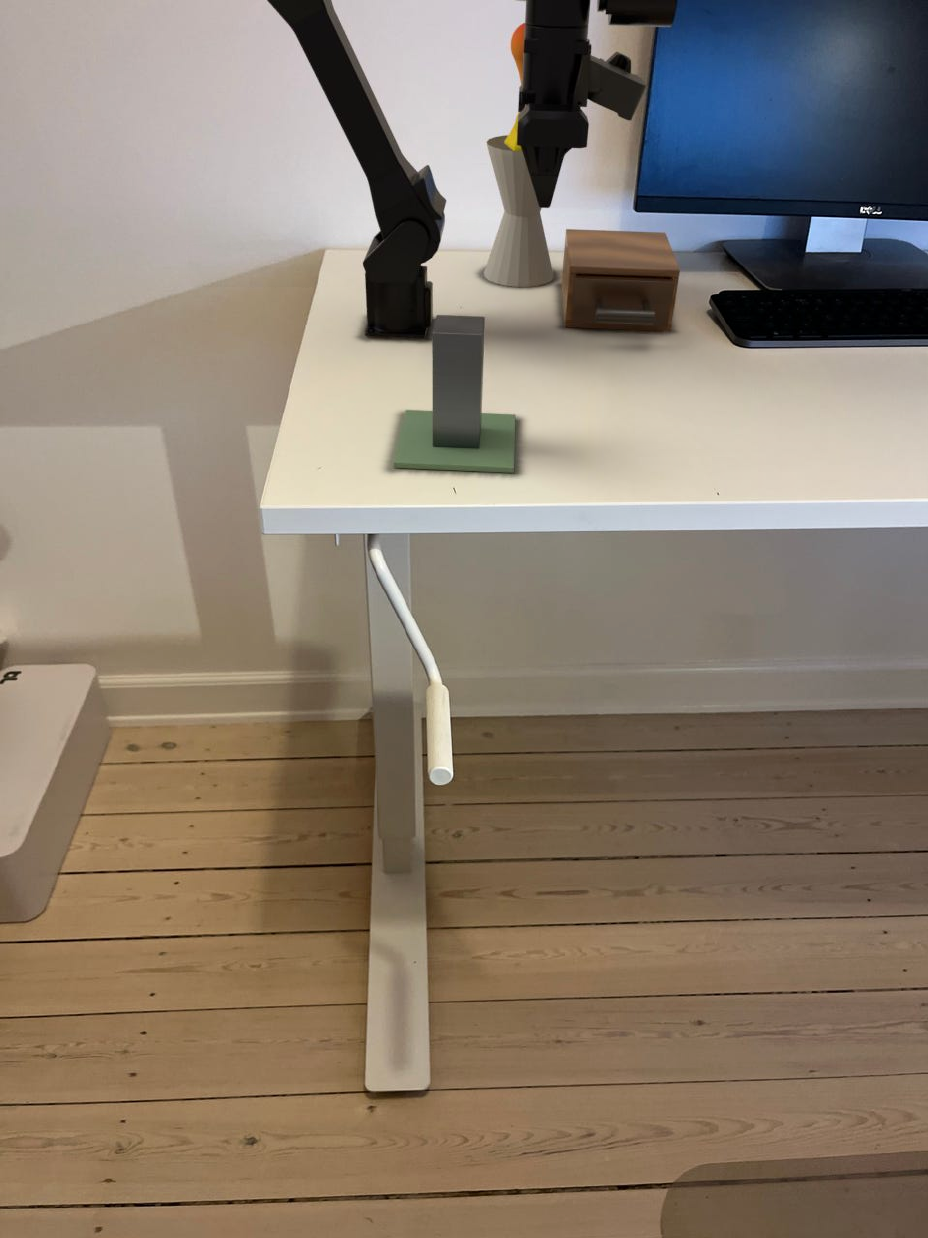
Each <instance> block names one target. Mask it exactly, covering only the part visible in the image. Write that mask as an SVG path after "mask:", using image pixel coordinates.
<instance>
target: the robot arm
mask: <svg viewBox="0 0 928 1238" xmlns="http://www.w3.org/2000/svg"><path fill="white" fill-rule="evenodd" d="M266 1H267V2H268V4H269V5H270V6H271V7H272V8H273V9H274V10H275V11H276V13H277V14H278V15H279V16H280V17H281V18H282V19H283V21H284V22H285V23H286V24H287V25H288V26H289V28H290V29H291V30H292V31H293V33H294V35H295V37H296V39H297V41H298V43H299V45H300V47H301V49H302V51H303V53H304V55H305V57H306V59H307V61H308V63H309V65H310V67H311V69H312V71H313V73H314V75H315V77H316V79H317V82H318V83H319V85H320V88H321V89H322V91H323V93H324V96H325V97H326V100H327V102H328V103H329V105H330V107H331V110H332V111H333V113H334V115H335V117H336V119H337V121H338V123H339V125H340V128H341V129H342V131H343V133H344V135H345V137H346V140H347V141H348V143H349V145H350V147H351V149H352V151H353V153H354V155H355V157H356V159H357V161H358V163H359V165H360V167H361V169H362V171H363V173H364V175H365V177H366V180H367V184H368V187H369V192H370V196H371V201H372V205H373V209H374V210H373V211H374V216H375V218H376V221H377V225H378V228H379V231H378V232H377V233H376V234H375V235H374V237H373V238H372V241H371V243H370V245H369V247H368V249H367V252H366V255H365V257H364V259H363V261H362V267H363V270H364V276H365V277H364V282H365V283H364V284H365V303H366V304H365V305H366V325H365V328H364V336H365V337H368V338H370V337H371V338H391V339H392V338H395V339H396V338H397V339H418V340H420V339H422V340H423V339H425V338H426V336H427V332H428V329H430V328H431V327H432V324H433V318H434V307H433V306H434V282H432V281H431V280H428V266H427V265H423V264H426V263H427V262H428V261H430V260H431V259H433V258H434V256H435V255H436V254H437V252H438V250H439V248H440V245H441V240H442V237H443V233H444V229H445V223H446V214H445V209H446V205H447V199H446V198H445V196H443V195H442V194H441V193H440V191H439V190H438V188H437V185H436V182H435V179H434V176H433V172H432V169H431V166H430V165H429V164H426V165H425V166H424V167H422V168H421V169H420V170H418V171H417V169H416V168H415V167H414V166H413V165H412V163H411V162H410V161H408V159H407V158H406V157H405V155H404V153H403V151H402V149H401V148H400V146H399V144H398V141H397V139H396V137H395V135H394V133H393V131H392V129H391V127H390V125H389V122H388V120H387V118H386V116H385V113H384V111H383V109H382V108H381V105H380V103H379V101H378V99H377V96H376V95H375V93H374V91H373V88H372V87H371V84H370V82H369V79H368V78H367V76H366V73H365V72H364V69H363V67H362V65H361V63H360V61H359V59H358V57H357V54H356V52H355V50H354V48H353V47H352V44H351V42H350V40H349V38H348V35H347V34H346V31H345V28H344V27H343V25H342V23H341V20H340V19H339V16H338V14H337V12H336V9H335V7H334V4H333V1H332V0H266ZM678 1H679V0H597V1H596V10H597V11H596V12H597V13H605V15H607V25H608V26H612V27H613V26H615V27H649V28H650V27H651V28H652V27H653V28H671V27H672V26H673V24H674V21H675V18H676V11H677V7H678ZM590 11H591V0H526V1H525V15H524V16H525V17H524V23H525V33H524V54H523V75H522V85H521V84H520V86H519V87H518V107H517V115H518V129H517V145H519V146H521V149H522V152H523V155H524V158H525V162H526V165H527V168H528V172H529V174H530V178H531V181H532V185H533V188H534V191H535V195H536V198H537V201H538V205H539V207H540V208H541V209H549V208H551V206H552V203H553V198H554V194H555V191H556V188H557V184H558V180H559V176H560V174H561V173H560V172H561V169H562V166H563V162H564V159H565V156H566V155H567V153H569V151H571V150H572V149H585V148H587V147H588V139H589V138H588V137H589V128H590V127H589V126H590V124H589V119H588V116H587V114H586V113H585V112H584V111H583V109H582V108H587V107H588V101H590V102H592V103H594V104H597V105H598V106H601V107H603V108H605V109H607V110H609V111H611V112H613V113H616V114H617V116H618V117H619V118H622V119H624V120H626V121H632V120H633V118H634V115H635V113H636V111H637V108H638V106H639V104H640V102H641V100H642V98H643V96H644V93H645V91H646V89H647V86H648V85H647V84H646V81H645V80H644V79H643V78H642V77H640V76H639V75H638V74H636V73H632V60H631V57H629V56H627V55H625V54H623V53H621V52H619V51H615V52H614V53H613V54H612V55H611V56H609V58H607V59H606V60H605V59H604V58H601V57H600V58H599V57H597V56H594V55H592V44H591V40H590V39H589V37H588V35H589V22H590ZM518 112H520V113H519V114H518Z"/></svg>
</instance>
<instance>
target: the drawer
mask: <svg viewBox="0 0 928 1238" xmlns="http://www.w3.org/2000/svg"><path fill="white" fill-rule="evenodd" d="M673 288H674V280H673V279H667V278H665V277H653V276H625V275H598V274H577V275H575V280H574V291H573V302H572V314H571V323H585V324H611V325H637V326H663V327H667V326H668V321H669V314H670V308H671V301H672V295H673Z"/></svg>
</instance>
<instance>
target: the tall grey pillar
mask: <svg viewBox="0 0 928 1238" xmlns="http://www.w3.org/2000/svg"><path fill="white" fill-rule="evenodd" d="M485 324H486V317H485V316H476V315H475V316H474V315H454V314H453V315H451V314H448V315H447V314H436V316H435V319H434V324H433V329H432V335H431V336H432V347H431V348H432V356H431V357H432V359H431V360H432V361H431V362H432V363H431V364H432V411H433V446H434V447H457V448H479V447H480V436H481V420H482V413H483V387H484V386H483V385H484V357H485V356H484V355H485V352H484V351H485V331H486V330H485Z"/></svg>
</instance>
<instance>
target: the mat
mask: <svg viewBox="0 0 928 1238" xmlns="http://www.w3.org/2000/svg"><path fill="white" fill-rule="evenodd" d="M515 444H516V414H514V413H513V414H511V413H492V412H491V413H490V412H482V420H481V436H480V447H479V448H457V447H434V446H433V410H419V409H418V410H417V409H416V410H415V409H405V410H404V415H403V420H402V424H401V427H400V433H399V436H398V442H397V446H396V451H395V455H394V459H393V468H394V469H395V468H396V469H416V470H417V469H418V470H439V471H440V470H441V471H462V472H463V471H464V472H486V473H506V474H507V473H508V474H510V473H511V474H513V473H514V472H515V452H516V451H515V449H516V447H515Z"/></svg>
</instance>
